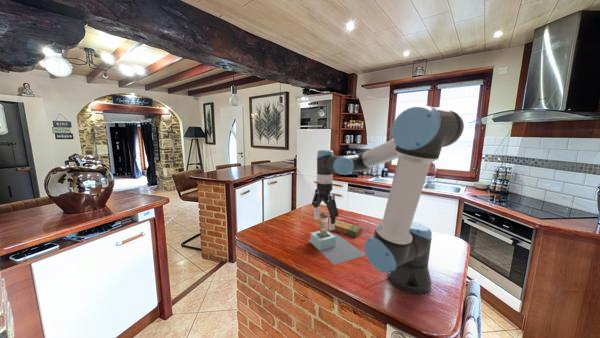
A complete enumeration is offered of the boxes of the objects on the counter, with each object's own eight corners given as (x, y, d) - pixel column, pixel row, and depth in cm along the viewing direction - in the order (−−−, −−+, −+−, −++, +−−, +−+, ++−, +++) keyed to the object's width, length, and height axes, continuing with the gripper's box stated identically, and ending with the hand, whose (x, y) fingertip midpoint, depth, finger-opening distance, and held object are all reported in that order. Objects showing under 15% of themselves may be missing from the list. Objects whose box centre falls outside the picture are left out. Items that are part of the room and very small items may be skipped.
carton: (337, 226, 135) (337, 219, 134) (362, 234, 125) (362, 226, 124) (330, 230, 128) (330, 223, 128) (356, 239, 119) (356, 231, 118)
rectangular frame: (335, 246, 109) (335, 236, 109) (319, 250, 105) (320, 240, 105) (325, 238, 117) (325, 229, 117) (310, 241, 113) (310, 232, 113)
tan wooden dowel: (327, 245, 111) (329, 214, 108) (321, 246, 109) (323, 215, 106) (324, 241, 114) (325, 212, 111) (317, 243, 112) (319, 213, 109)
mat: (366, 256, 102) (366, 254, 102) (334, 266, 94) (334, 265, 94) (335, 234, 123) (335, 233, 123) (307, 241, 116) (307, 240, 115)
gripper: (347, 187, 96) (345, 232, 100) (317, 177, 118) (317, 214, 122) (333, 188, 93) (331, 236, 97) (305, 178, 115) (305, 217, 119)
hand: (323, 224), depth 109 cm, fingers open, 13 cm apart
